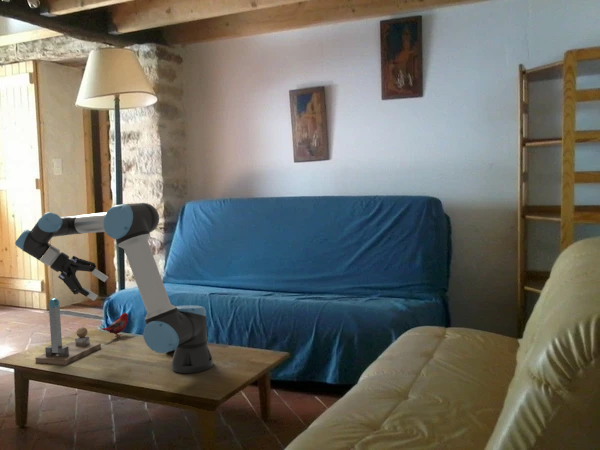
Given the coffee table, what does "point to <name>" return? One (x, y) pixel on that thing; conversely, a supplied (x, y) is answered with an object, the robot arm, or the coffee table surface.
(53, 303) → the lever
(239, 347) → the coffee table surface
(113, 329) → the decorative bird figurine
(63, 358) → the nutcracker base
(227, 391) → the coffee table surface
